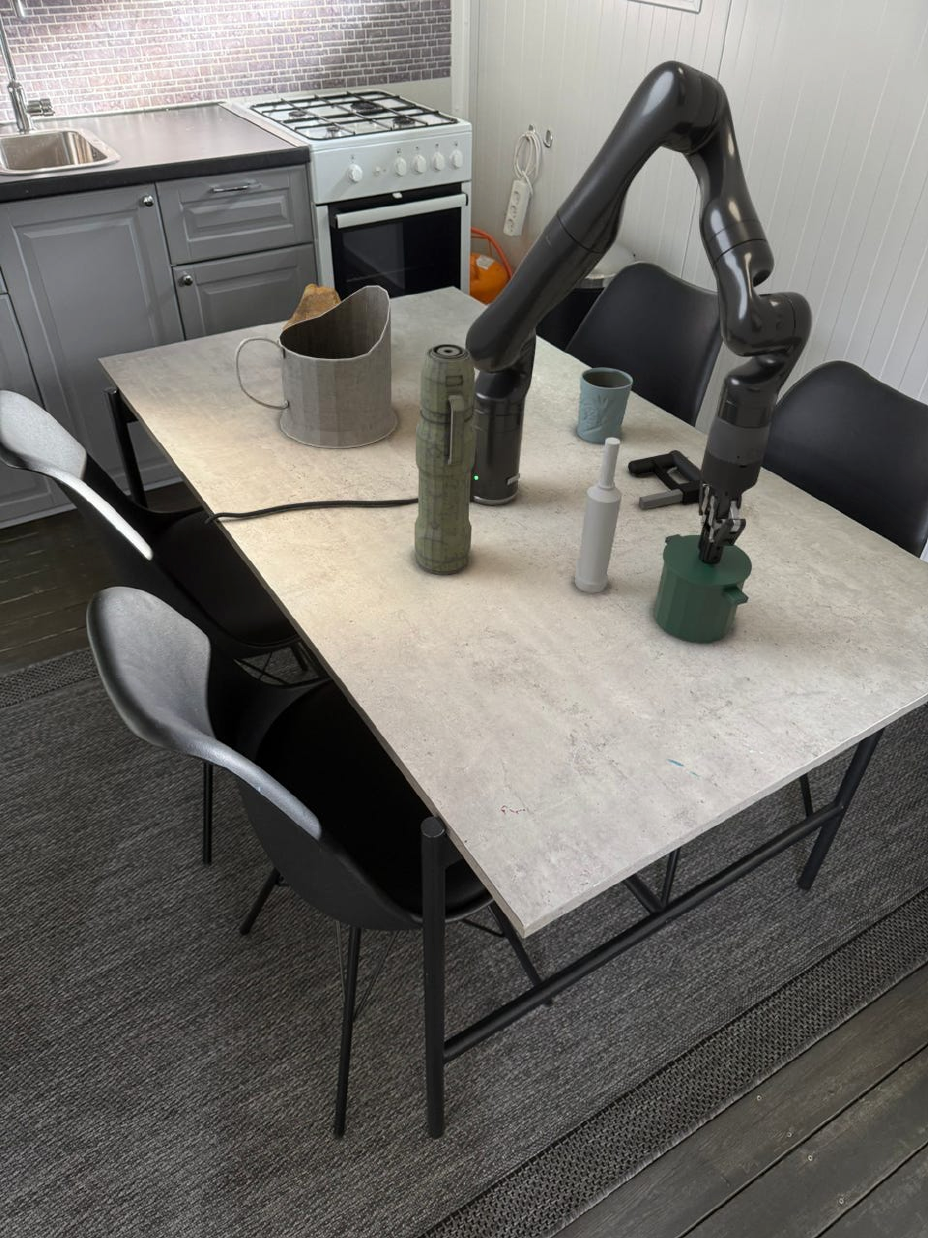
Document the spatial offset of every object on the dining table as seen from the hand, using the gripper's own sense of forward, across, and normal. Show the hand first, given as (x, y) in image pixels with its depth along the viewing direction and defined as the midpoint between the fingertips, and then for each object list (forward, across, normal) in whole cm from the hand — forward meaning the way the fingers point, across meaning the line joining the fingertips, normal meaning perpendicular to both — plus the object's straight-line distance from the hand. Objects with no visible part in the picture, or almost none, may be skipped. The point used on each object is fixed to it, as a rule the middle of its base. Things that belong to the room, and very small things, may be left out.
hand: (708, 555), depth 130 cm
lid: (+1, 0, 0) cm, 1 cm away
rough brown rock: (+12, -93, -61) cm, 112 cm away
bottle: (+12, -9, -14) cm, 20 cm away
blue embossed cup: (+12, -60, -3) cm, 61 cm away
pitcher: (+12, -63, -59) cm, 87 cm away
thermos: (+12, -16, -37) cm, 42 cm away
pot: (+12, 0, 0) cm, 12 cm away
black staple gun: (+12, -37, +6) cm, 39 cm away
